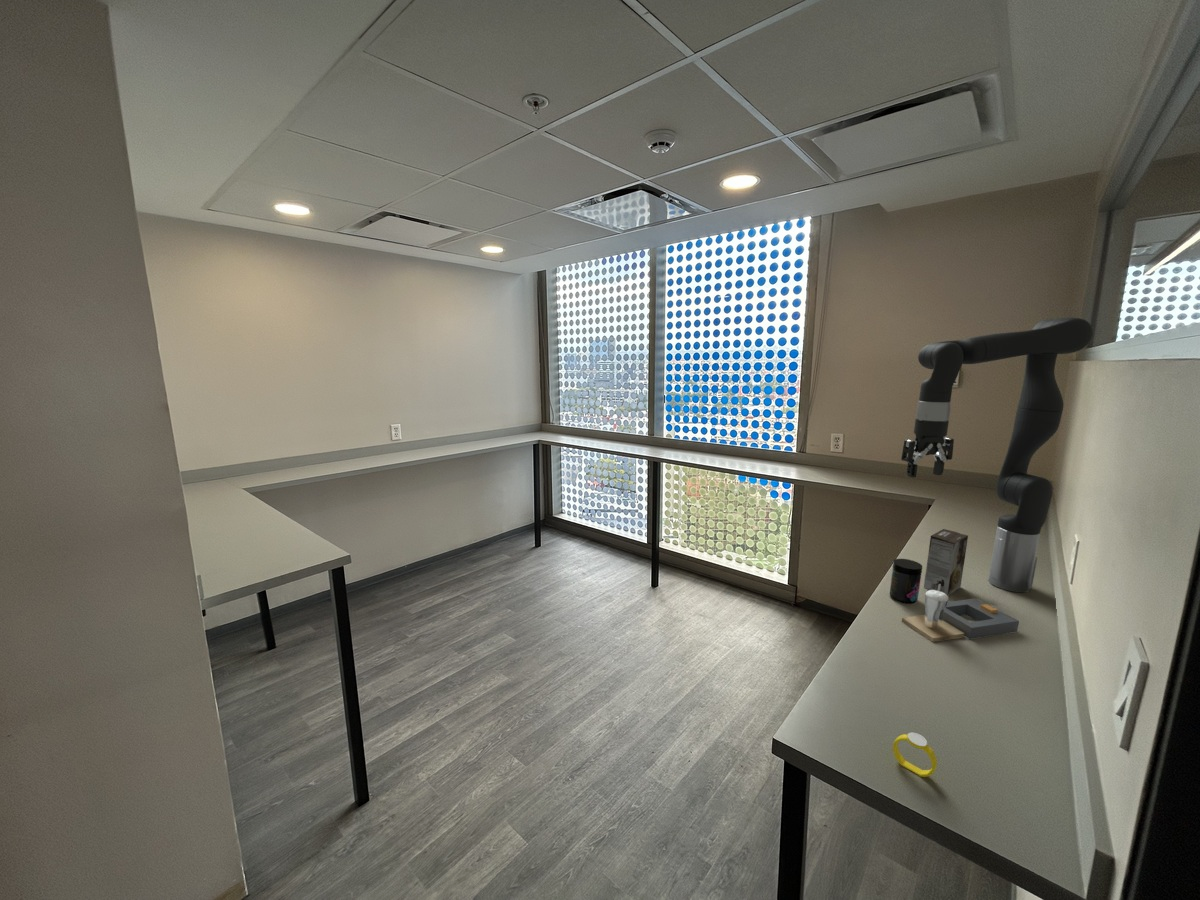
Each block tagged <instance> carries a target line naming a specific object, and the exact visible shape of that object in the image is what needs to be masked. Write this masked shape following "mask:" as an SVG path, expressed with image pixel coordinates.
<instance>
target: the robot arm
mask: <svg viewBox="0 0 1200 900" xmlns="http://www.w3.org/2000/svg"><path fill="white" fill-rule="evenodd" d="M1093 332H1094V330H1093V326H1092V325H1091V323H1090V322H1089V321H1088V320H1086V319H1084V318H1080V317H1060V318H1049V319H1048V318H1047V319H1044V320H1041V321H1039V322H1037V323H1036V324H1035V325H1034V326H1033V327H1032V328H1031V330H1021V331H1020V330H1019V331H1010V332H1000V333H992V334H985V335H979V336H978V335H977V336H973V337H969V338H968V337H967V338H964V339H957V340H946V341H937V342H930V343H928V344H927V345H924V346H923V347H922V348H921V349H920V351H919V352H918V356H917V357H918V358H917V359H918V362H919V364H920V365H921V366H922V367H923V368H925V369H929V370H932V373H931V376H930V378H927V379H924V380H923V381H922V383H921V385H920V391H919V397H918V404H917V407H916V412H915V420H914V429H913V433H914V435H915V438H914V440H913V439H905V440H904V442H903V447H902V452H901V459H900V460H901V461H902V462H903V461H904V462H906V463H907V467H906V475H907V476H908V477H910V478H916V477H917V474H918V473H917V470H918V463H919V461H921V459H924V457H925V456H930V455H931V456H932V457H933V458H934V460H935V461H934V463H933V470H932V474H933V475H935V476H942V475H943V473H944V470H945V469H944V468H945V463H946V462H947V461H948V460H949V461H950V460H952V459H953V453H954V443H955V442H954V441H955V439H954V438H952V437H951V438H950V437H947V436H948V431H949V425H950V424H949V423H950V415H951V401H952V393H953V387H954V384H955V382H956V380H957V378H958V375H959V373H960V371H961V368H962V366H963V365H975V364H977V365H978V364H983V363H988V362H994V361H999V360H1006V359H1010V358H1011V359H1012V358H1015V357H1021V356H1026V358H1025V369H1024V370H1025V371H1024V376H1023V382H1022V387H1021V393H1020V397H1019V400H1018V401H1019V402H1018V405H1017V409H1016V411H1015V418H1014V423H1013V428H1012V432H1011V437H1010V441H1009V445H1008V448H1007V452H1006V455H1005V458H1004V460H1003V464H1002V466H1001V470H1000V472H999V474H998V478H997V481H996V486H995V492H996V495H997V498H998V499H1000V500H1001V501H1003V502H1005V503H1009V504H1012V505H1015V506H1017V507H1018V508H1017V511H1016V513H1015V514H1003V515H1000V516H999V517H998V521H997V527H996V531H995V532H996V533H995V538H994V543H993V550H992V554H991V555H992V556H991V561H990V562H991V563H990V567H989V575H988V579H987V581H988V582H989V583H990V584H991V585H993V586H995V587H996V588H1000V589H1003V590H1005V591H1010V592H1015V593H1027V592H1028V591H1030V589H1032V588H1033V583H1034V578H1035V573H1036V567H1037V562H1038V556H1037V552H1038V546H1039V540H1040V535H1041V530H1042V527H1043V526H1044V524H1045V522H1046V521H1047V516H1048V513H1049V510H1050V505H1051V502H1052V498H1053V485H1052V483H1051V481H1049V479H1047V478H1044V477H1043V476H1042V477H1041V476H1038V475H1034V474H1033V475H1032V474H1030V473H1028V468H1029V466H1030V462H1031V460H1032V458H1033V456H1034V454H1035V453H1036V452H1037V451H1038V450H1039V449H1040V448H1041V447H1042V446H1043V445H1045V444H1046V443H1047V442H1048V441H1049V440H1050V439H1051V438H1052V437H1053V436H1054V435H1055V434H1056V432H1057V431H1058V429H1059V427H1060V423H1061V419H1062V415H1063V411H1064V400H1063V396H1062V394H1061V390H1060V388H1059V385H1058V383H1057V380H1056V376H1055V369H1056V368H1055V367H1056V362H1057V357H1058V355H1067V354H1073V353H1076V352H1079V351H1081V350H1083V349H1084V348H1086V347H1087V346H1088V345H1089V344H1090V342H1091V340H1092V338H1093V334H1094V333H1093Z"/></svg>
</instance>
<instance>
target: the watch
mask: <svg viewBox="0 0 1200 900" xmlns="http://www.w3.org/2000/svg"><path fill="white" fill-rule="evenodd" d="M901 741H904V742H905V741H907V742H908V744H909V745H910V746H912V747H914V748H915V749H917V750H918V749H919V750H922V751H924V752H925V753H926V755H927V756H928V758H929V760H930V762H931V768H930V769H922V768H920V767H918V766H916V765H914V764H912V763H911V762H909V761H908V760H905V758H904V756H903V755H902V754H901V752H900V749H899V746H898V744H899V742H901ZM892 752H893V756H894V757H895V759H896V760H897V762H898V763H899V764H900V765H901V766H902V767H903V768H905V769H907V770H909V771H911V772H913V773H914V774H916V775H918V777H922V778H927V777H930V776H931V775H933V774H934V772H935V771H936V769H937V767H938V759H937V756H936V754H935V753H934V750H933V749H932V747H930V746H929V745H928V741H927V739H926V738H925V737H924V736H923V735H921V734H920V733H917V732H912V731H911V732H908V733H907V734H905V733H903V734H901V735H899V736H897V737H896V739H894V741H893V744H892Z"/></svg>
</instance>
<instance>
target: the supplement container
mask: <svg viewBox="0 0 1200 900" xmlns="http://www.w3.org/2000/svg"><path fill="white" fill-rule="evenodd" d="M891 571H892V572H891V579H890V588H889V597H890V598H891V599H892V600H894V601H895V602H898V603H901V604H905V605H913V604H915V603H917V602H918V599H919V592H920V586H921V581H922V580H921V578H922V573H923V565H922V564H921V563H919V562H917V561H915V560H911V559H908V558H895V559H894V560H893V561H892V570H891Z"/></svg>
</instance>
